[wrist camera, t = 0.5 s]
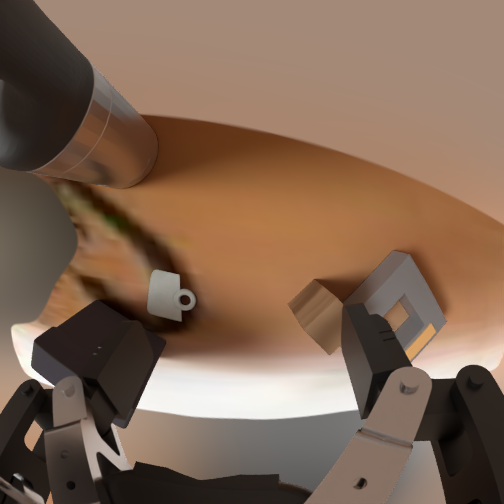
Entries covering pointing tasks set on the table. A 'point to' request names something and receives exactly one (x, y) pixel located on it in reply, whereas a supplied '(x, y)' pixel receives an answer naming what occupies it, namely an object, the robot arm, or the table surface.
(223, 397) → the table surface
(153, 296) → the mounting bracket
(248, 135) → the table surface
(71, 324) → the black slab
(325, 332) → the walnut peg
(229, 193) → the table surface
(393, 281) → the socket block
